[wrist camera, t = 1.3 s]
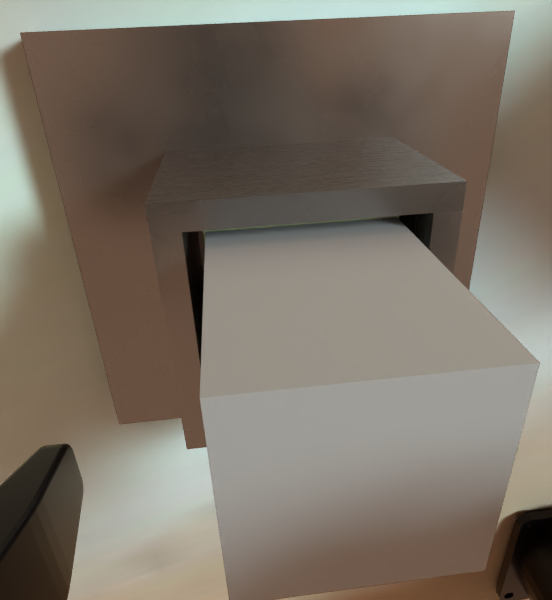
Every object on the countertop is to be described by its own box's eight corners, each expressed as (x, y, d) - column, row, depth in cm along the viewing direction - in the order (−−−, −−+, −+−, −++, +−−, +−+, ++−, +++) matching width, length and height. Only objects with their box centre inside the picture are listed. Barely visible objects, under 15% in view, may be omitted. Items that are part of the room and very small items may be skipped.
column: (354, 310, 16) (487, 571, 8) (219, 322, 16) (226, 608, 8) (360, 176, 14) (544, 359, 6) (204, 186, 13) (194, 394, 6)
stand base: (441, 372, 19) (529, 504, 14) (123, 405, 18) (87, 560, 13) (495, 12, 13) (683, -1, 8) (33, 32, 12) (-102, 34, 7)
